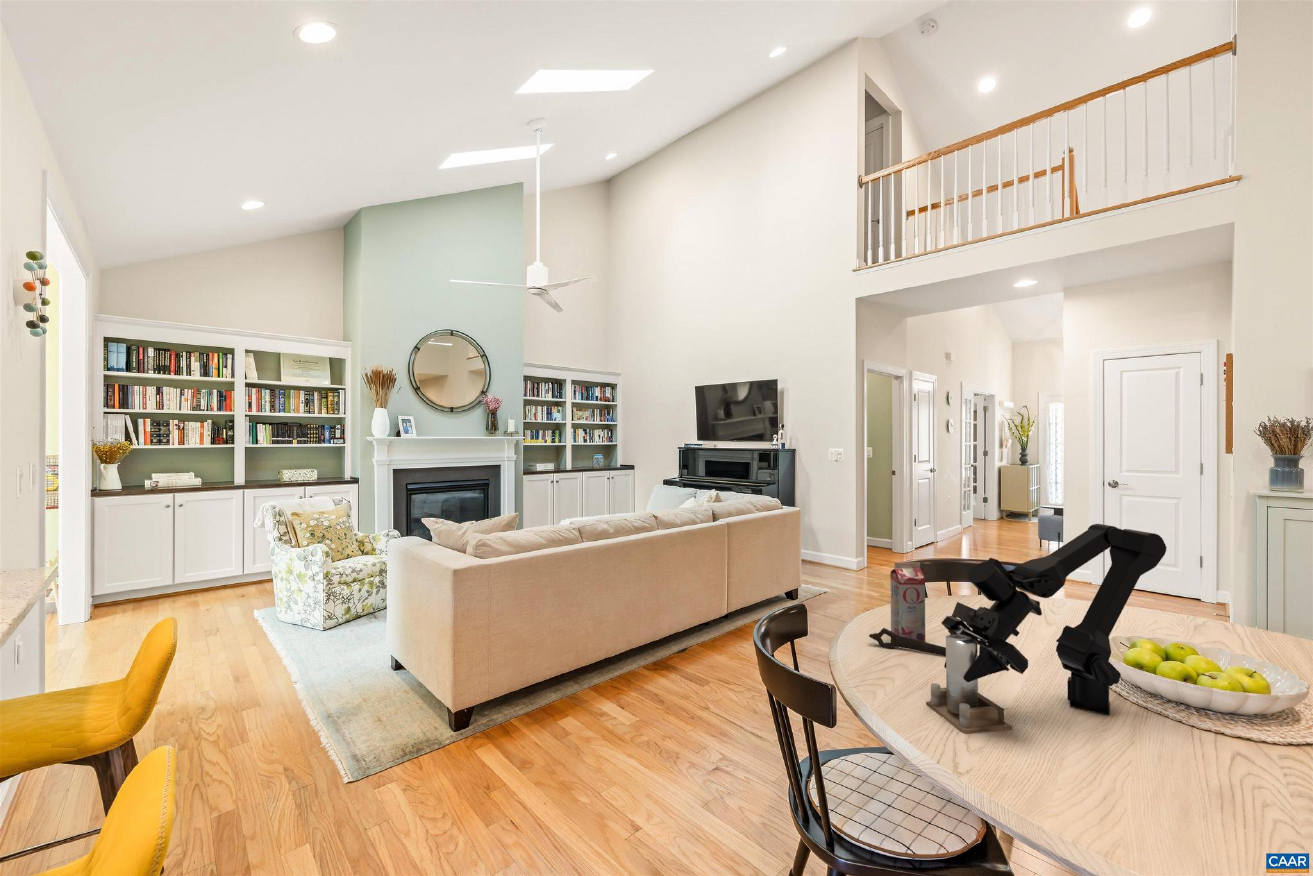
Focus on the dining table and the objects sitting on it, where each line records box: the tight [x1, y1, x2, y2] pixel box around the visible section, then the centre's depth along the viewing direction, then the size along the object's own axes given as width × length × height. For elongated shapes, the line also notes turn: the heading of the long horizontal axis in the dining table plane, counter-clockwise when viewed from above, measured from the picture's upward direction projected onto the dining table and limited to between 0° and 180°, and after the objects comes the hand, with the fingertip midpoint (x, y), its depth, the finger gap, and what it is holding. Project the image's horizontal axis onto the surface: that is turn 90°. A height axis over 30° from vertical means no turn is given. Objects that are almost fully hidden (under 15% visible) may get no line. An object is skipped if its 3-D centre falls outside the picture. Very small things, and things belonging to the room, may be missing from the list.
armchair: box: [925, 682, 1013, 735], centre depth 116 cm, size 10×12×5 cm
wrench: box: [868, 627, 946, 657], centre depth 147 cm, size 5×5×30 cm
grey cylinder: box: [945, 634, 979, 714], centre depth 116 cm, size 6×6×14 cm
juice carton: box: [889, 561, 926, 642], centre depth 156 cm, size 7×7×22 cm
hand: (955, 674), depth 115 cm, fingers closed on grey cylinder, 6 cm apart
